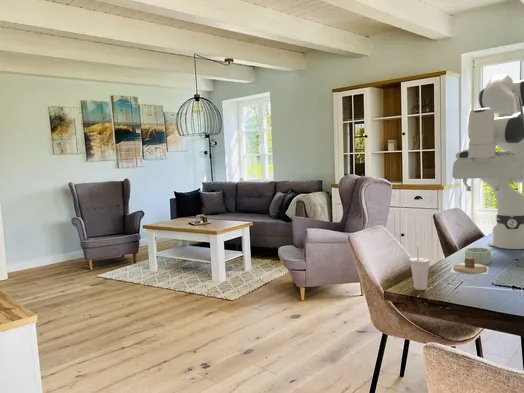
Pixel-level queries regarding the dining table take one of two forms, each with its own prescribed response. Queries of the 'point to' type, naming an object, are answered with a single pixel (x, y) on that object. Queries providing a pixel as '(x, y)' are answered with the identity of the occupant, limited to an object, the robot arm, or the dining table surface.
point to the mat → (470, 273)
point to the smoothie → (420, 271)
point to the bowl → (479, 255)
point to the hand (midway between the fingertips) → (482, 190)
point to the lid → (470, 266)
